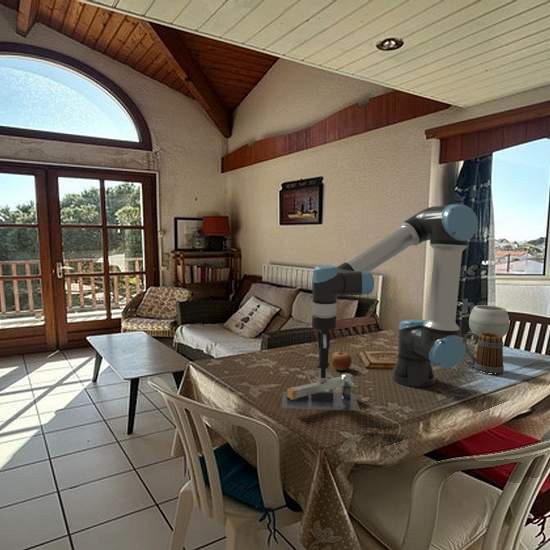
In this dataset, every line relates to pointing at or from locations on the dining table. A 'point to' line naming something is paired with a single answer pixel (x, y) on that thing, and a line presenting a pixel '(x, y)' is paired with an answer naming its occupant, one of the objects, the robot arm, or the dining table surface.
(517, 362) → the dining table surface
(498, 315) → the planter
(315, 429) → the dining table surface
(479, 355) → the mug
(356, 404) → the chassis
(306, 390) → the cable arm
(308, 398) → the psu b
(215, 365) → the dining table surface
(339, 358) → the apple
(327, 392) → the power supply
